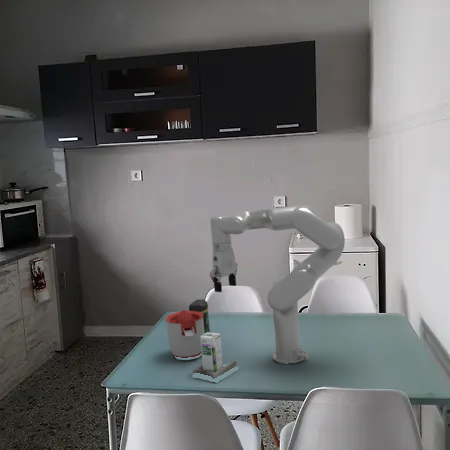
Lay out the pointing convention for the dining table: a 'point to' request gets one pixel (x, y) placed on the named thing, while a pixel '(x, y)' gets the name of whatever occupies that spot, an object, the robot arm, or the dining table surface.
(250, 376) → the dining table surface
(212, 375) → the rail board
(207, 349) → the syrup box
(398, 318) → the dining table surface
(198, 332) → the citrus juicer
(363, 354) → the dining table surface
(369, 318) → the dining table surface
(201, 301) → the coffee jar
